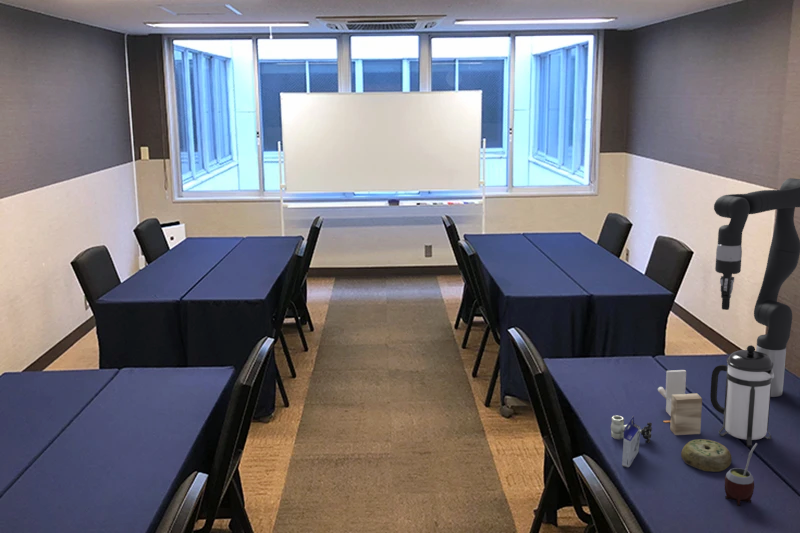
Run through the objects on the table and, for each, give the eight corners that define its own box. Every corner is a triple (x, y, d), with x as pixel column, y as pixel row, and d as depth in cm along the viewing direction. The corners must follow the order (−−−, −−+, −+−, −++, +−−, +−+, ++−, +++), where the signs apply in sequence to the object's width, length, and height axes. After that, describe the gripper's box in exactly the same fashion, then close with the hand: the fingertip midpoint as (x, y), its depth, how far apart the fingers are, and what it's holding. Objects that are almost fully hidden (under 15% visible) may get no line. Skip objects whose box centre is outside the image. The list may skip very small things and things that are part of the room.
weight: (739, 472, 206) (740, 456, 205) (691, 474, 207) (692, 458, 206) (719, 450, 220) (720, 434, 218) (674, 451, 220) (675, 436, 219)
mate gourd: (724, 504, 191) (727, 452, 187) (723, 489, 198) (726, 439, 195) (755, 509, 188) (759, 456, 185) (753, 494, 195) (757, 442, 192)
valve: (608, 440, 228) (648, 447, 223) (608, 421, 227) (648, 427, 221) (612, 431, 234) (651, 438, 229) (613, 412, 233) (652, 418, 227)
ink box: (629, 468, 211) (630, 431, 209) (621, 466, 212) (622, 430, 210) (640, 451, 221) (641, 416, 218) (632, 449, 222) (633, 414, 219)
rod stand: (648, 404, 252) (649, 372, 249) (671, 403, 252) (672, 371, 249) (675, 435, 230) (676, 399, 227) (700, 433, 230) (702, 398, 227)
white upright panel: (664, 411, 240) (666, 370, 237) (682, 410, 240) (684, 369, 237) (669, 416, 236) (671, 375, 233) (687, 415, 236) (689, 374, 233)
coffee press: (767, 427, 232) (774, 338, 225) (774, 450, 217) (782, 356, 210) (708, 421, 238) (713, 334, 231) (711, 444, 223) (717, 351, 216)
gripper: (739, 263, 228) (736, 316, 232) (742, 254, 239) (739, 304, 243) (713, 261, 231) (710, 313, 235) (718, 252, 243) (715, 302, 247)
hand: (725, 309), depth 239 cm, fingers closed
